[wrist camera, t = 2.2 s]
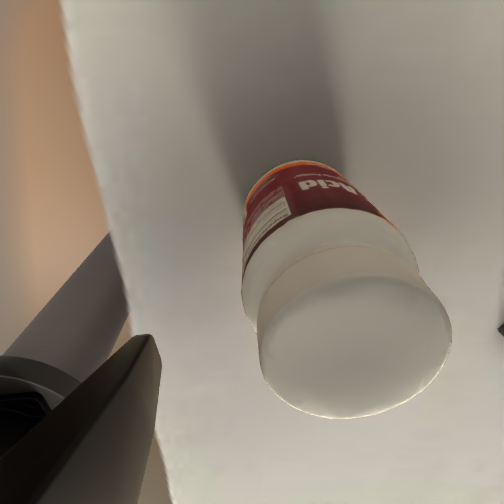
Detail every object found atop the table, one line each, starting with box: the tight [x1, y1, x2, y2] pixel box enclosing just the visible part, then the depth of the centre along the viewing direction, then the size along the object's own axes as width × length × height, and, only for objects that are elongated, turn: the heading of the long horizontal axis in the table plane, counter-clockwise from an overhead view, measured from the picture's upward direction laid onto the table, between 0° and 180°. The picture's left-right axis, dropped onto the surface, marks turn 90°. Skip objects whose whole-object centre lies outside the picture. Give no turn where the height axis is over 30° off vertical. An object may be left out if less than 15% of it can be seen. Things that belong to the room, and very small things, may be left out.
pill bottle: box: [241, 160, 452, 419], centre depth 11 cm, size 5×5×8 cm
